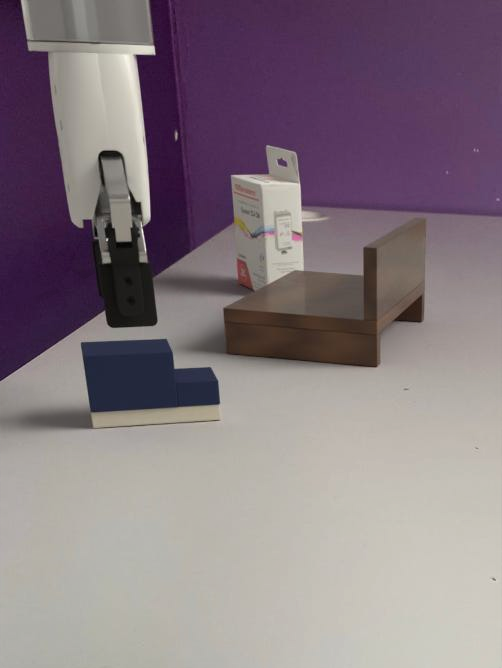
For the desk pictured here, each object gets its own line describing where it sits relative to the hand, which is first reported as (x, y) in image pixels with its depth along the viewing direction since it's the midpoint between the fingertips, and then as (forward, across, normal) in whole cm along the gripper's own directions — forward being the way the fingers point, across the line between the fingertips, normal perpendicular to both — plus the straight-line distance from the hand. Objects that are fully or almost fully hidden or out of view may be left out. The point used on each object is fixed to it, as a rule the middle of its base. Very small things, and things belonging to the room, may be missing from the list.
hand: (127, 310), depth 72 cm
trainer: (+8, 0, +1) cm, 8 cm away
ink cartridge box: (+8, -46, +18) cm, 50 cm away
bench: (+8, -23, +20) cm, 31 cm away
